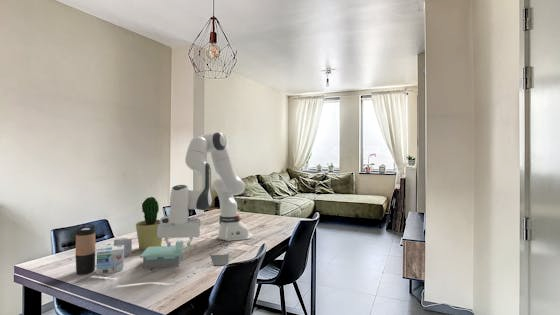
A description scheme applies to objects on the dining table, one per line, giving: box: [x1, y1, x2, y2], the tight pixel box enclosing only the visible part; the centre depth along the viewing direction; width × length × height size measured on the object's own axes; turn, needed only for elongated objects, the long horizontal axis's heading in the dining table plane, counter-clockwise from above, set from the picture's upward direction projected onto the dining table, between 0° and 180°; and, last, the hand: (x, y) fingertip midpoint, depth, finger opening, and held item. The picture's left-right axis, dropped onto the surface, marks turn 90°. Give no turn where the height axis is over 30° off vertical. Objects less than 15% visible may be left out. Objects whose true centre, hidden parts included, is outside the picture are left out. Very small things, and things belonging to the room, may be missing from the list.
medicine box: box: [113, 237, 133, 258], centre depth 160 cm, size 8×4×9 cm, turn 71°
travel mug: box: [75, 226, 96, 276], centre depth 138 cm, size 8×8×20 cm
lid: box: [139, 240, 186, 260], centre depth 148 cm, size 18×14×6 cm
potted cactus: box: [135, 196, 163, 251], centre depth 173 cm, size 15×15×30 cm
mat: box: [210, 253, 230, 267], centre depth 154 cm, size 19×15×1 cm
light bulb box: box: [95, 245, 125, 275], centre depth 139 cm, size 11×7×11 cm, turn 114°
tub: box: [142, 253, 183, 269], centre depth 148 cm, size 16×11×6 cm
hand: (178, 246), depth 149 cm, fingers open, 8 cm apart
